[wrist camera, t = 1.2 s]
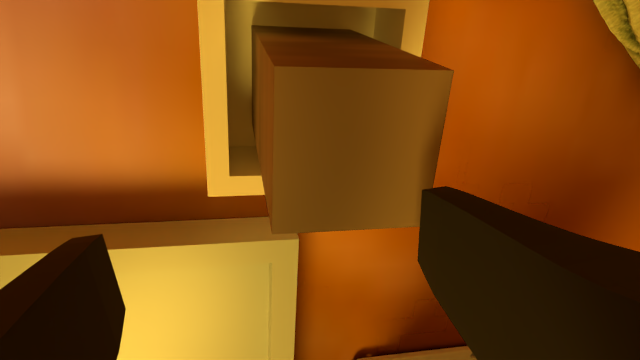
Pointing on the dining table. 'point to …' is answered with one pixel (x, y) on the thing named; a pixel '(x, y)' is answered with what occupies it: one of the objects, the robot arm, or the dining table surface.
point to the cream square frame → (187, 284)
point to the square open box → (236, 68)
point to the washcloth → (623, 23)
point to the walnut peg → (344, 128)
